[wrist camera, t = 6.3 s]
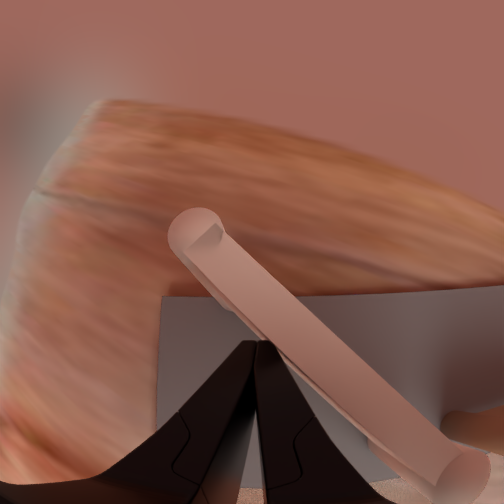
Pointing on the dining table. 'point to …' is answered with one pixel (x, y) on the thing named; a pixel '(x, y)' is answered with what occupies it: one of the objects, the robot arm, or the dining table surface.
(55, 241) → the dining table surface
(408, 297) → the board
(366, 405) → the fence gate
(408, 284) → the dining table surface
